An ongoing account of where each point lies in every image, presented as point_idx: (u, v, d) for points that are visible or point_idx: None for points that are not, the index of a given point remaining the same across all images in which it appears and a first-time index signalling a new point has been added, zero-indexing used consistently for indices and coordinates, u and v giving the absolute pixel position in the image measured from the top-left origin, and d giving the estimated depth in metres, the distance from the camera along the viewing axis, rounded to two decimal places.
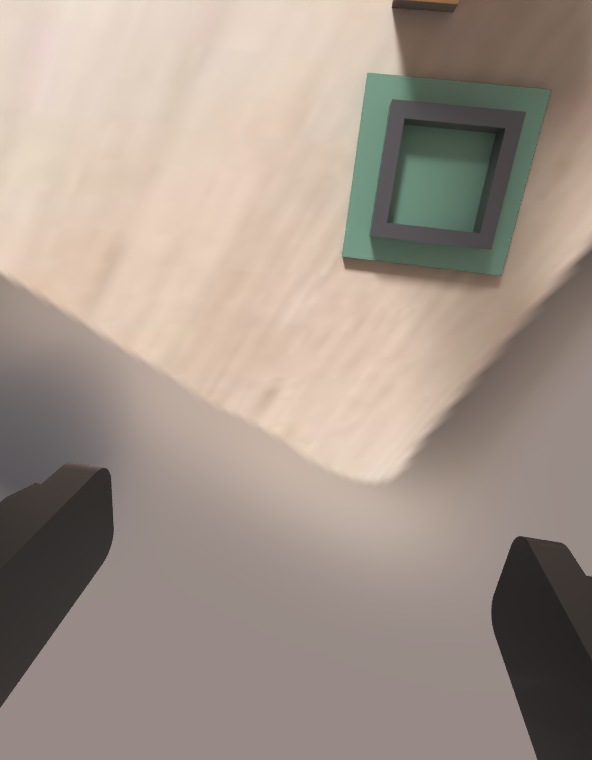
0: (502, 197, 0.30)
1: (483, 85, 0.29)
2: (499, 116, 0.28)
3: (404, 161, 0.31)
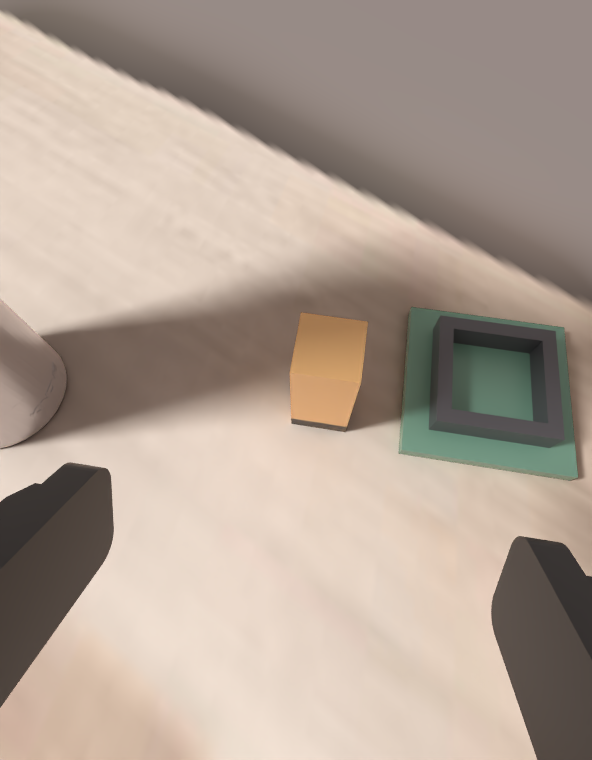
0: (508, 326, 0.33)
1: (409, 353, 0.34)
2: (444, 333, 0.33)
3: None
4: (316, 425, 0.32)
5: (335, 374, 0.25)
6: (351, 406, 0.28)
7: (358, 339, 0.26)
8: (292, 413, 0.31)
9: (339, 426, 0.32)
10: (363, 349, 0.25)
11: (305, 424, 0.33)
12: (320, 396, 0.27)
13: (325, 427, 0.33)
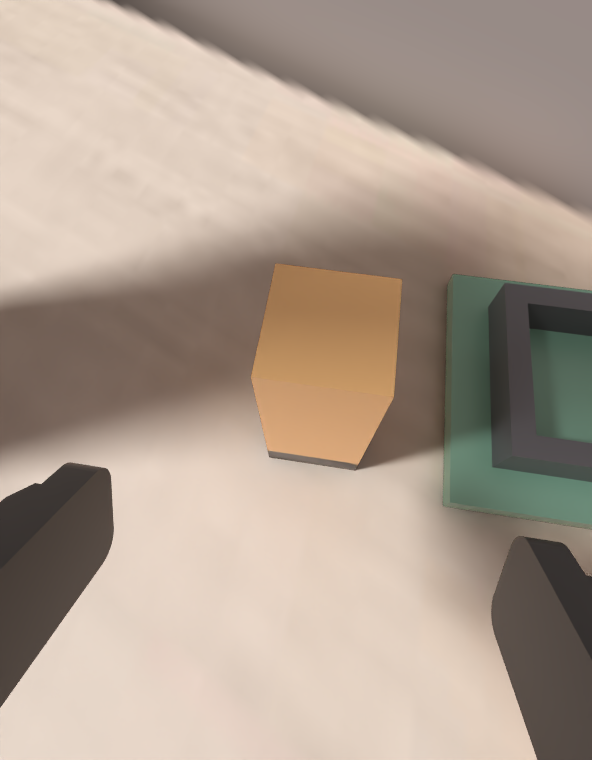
0: None
1: (454, 344, 0.22)
2: (514, 311, 0.20)
3: None
4: (309, 460, 0.20)
5: (341, 380, 0.12)
6: (369, 436, 0.16)
7: (385, 312, 0.13)
8: (268, 444, 0.19)
9: (346, 462, 0.19)
10: (396, 330, 0.13)
11: (291, 459, 0.20)
12: (314, 418, 0.15)
13: (323, 463, 0.20)
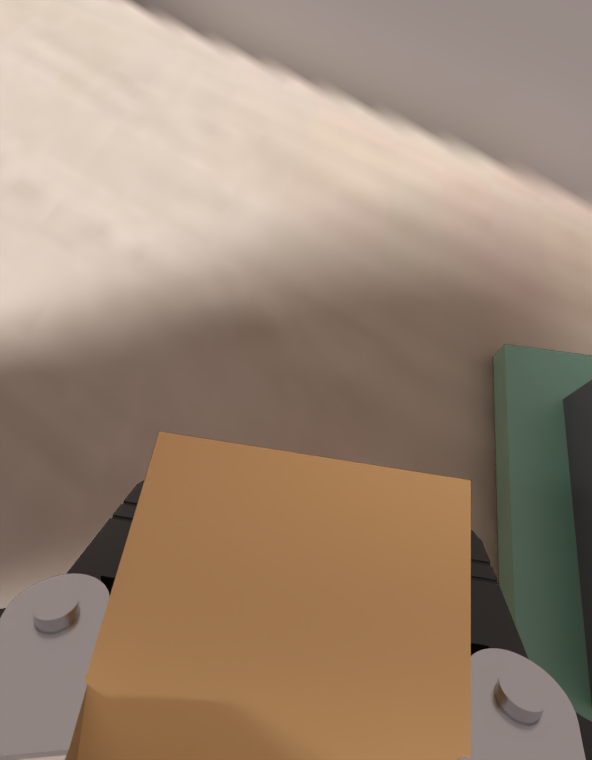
0: None
1: (513, 467, 0.14)
2: None
3: None
4: None
5: None
6: None
7: (433, 589, 0.05)
8: None
9: None
10: (463, 653, 0.05)
11: None
12: None
13: None
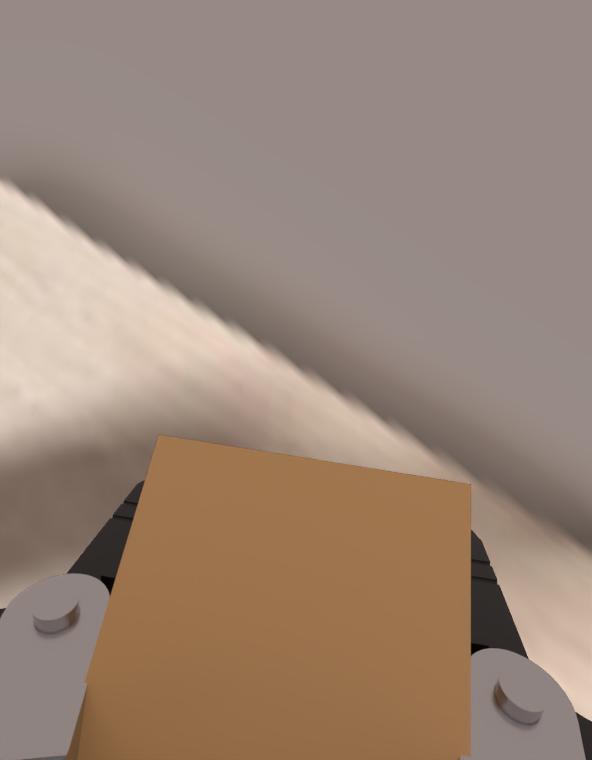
0: None
1: None
2: None
3: None
4: None
5: None
6: None
7: (433, 594, 0.05)
8: None
9: None
10: (463, 659, 0.05)
11: None
12: None
13: None
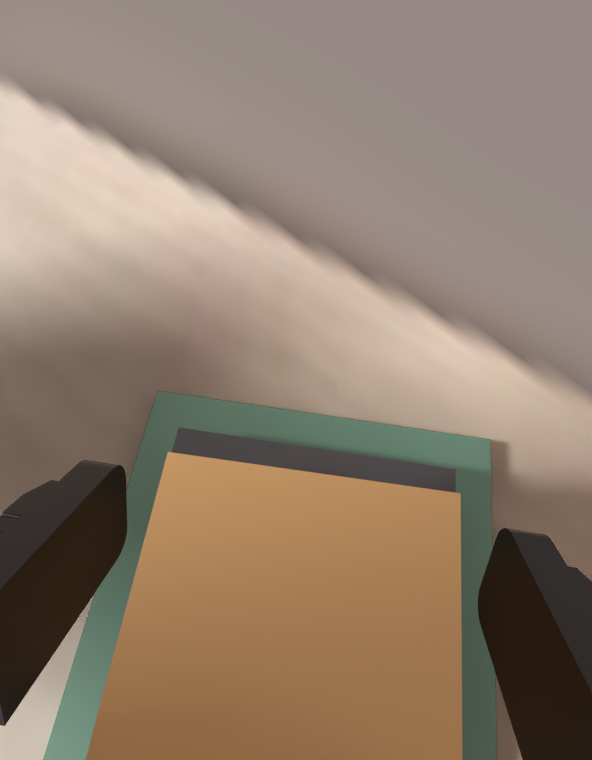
0: (340, 456, 0.13)
1: None
2: None
3: None
4: None
5: None
6: None
7: (427, 596, 0.05)
8: None
9: None
10: (455, 656, 0.05)
11: None
12: None
13: None
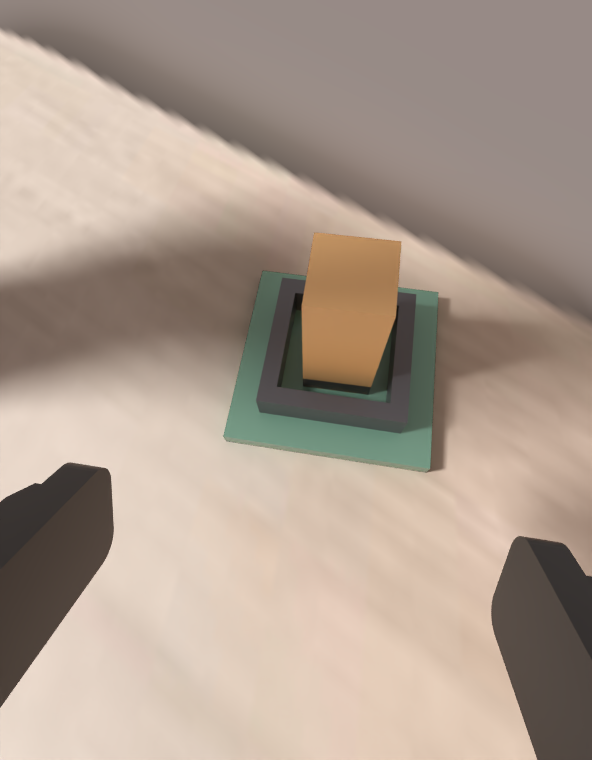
0: None
1: (251, 324, 0.29)
2: (283, 298, 0.27)
3: None
4: (333, 386, 0.27)
5: (361, 306, 0.19)
6: (379, 355, 0.22)
7: (390, 263, 0.20)
8: (304, 371, 0.25)
9: (361, 386, 0.26)
10: (397, 275, 0.19)
11: (320, 386, 0.27)
12: (341, 341, 0.21)
13: (344, 389, 0.27)
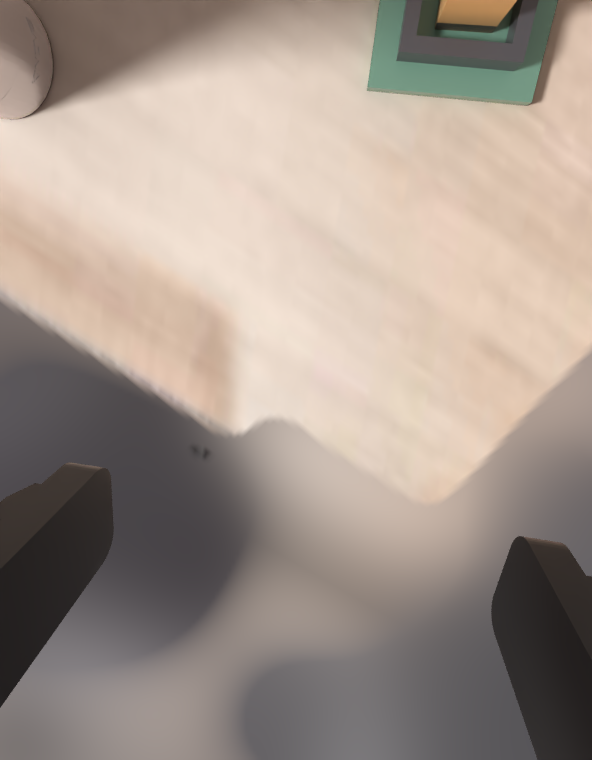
0: None
1: None
2: None
3: (446, 37, 0.32)
4: (462, 28, 0.31)
5: None
6: None
7: None
8: (441, 16, 0.30)
9: (488, 26, 0.30)
10: None
11: (450, 28, 0.31)
12: None
13: (471, 29, 0.31)
